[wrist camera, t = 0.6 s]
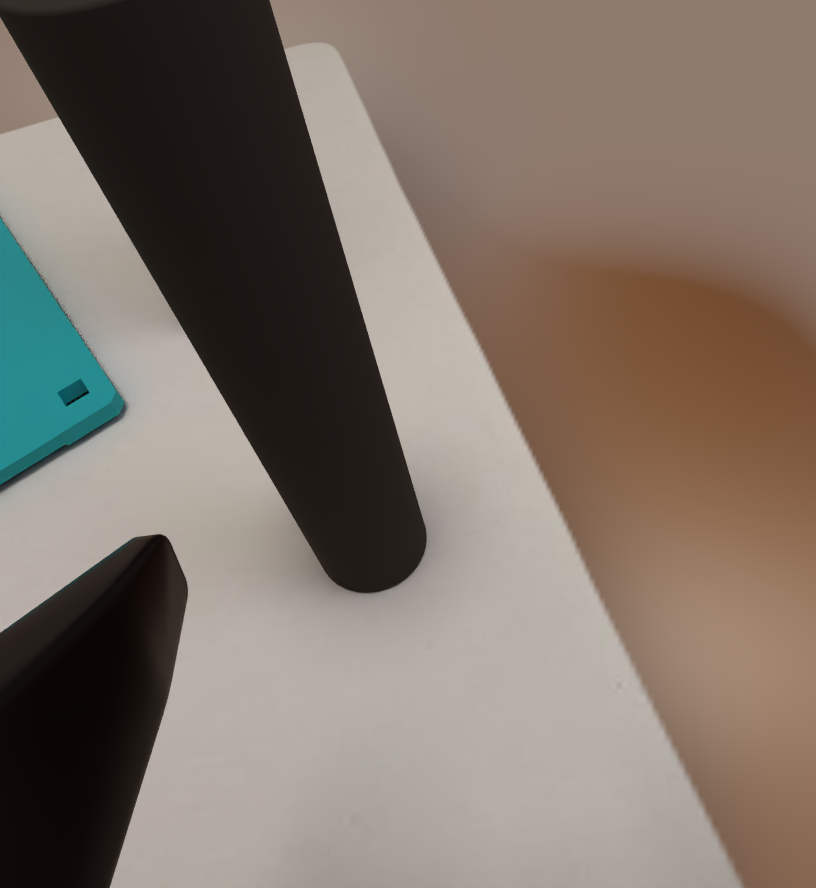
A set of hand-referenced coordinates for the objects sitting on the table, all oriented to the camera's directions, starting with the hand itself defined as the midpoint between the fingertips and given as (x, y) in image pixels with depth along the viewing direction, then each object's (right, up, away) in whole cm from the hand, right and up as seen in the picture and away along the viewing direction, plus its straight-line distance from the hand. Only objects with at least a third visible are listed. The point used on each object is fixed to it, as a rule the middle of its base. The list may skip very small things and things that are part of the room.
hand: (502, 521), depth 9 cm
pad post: (-3, -3, +18) cm, 18 cm away
